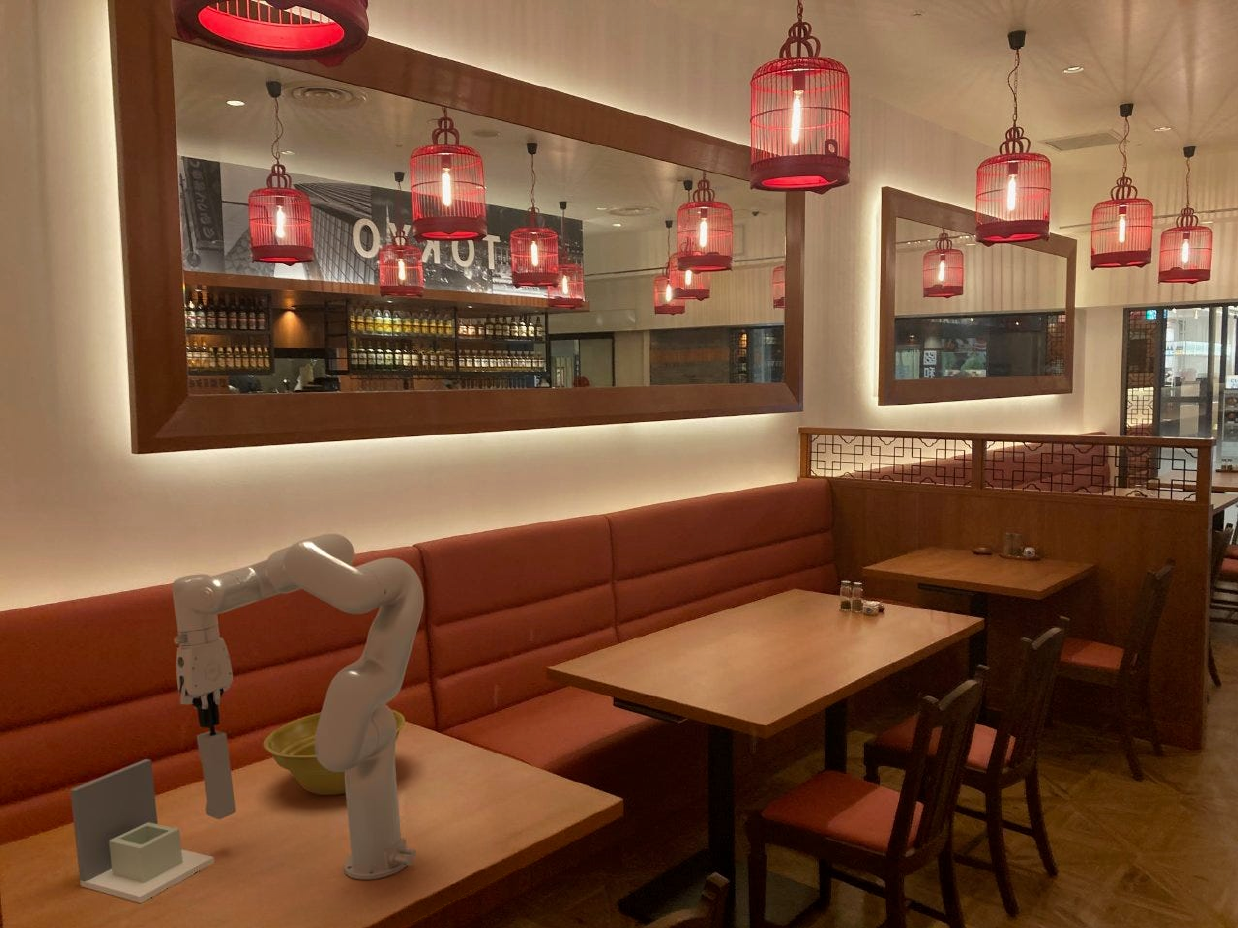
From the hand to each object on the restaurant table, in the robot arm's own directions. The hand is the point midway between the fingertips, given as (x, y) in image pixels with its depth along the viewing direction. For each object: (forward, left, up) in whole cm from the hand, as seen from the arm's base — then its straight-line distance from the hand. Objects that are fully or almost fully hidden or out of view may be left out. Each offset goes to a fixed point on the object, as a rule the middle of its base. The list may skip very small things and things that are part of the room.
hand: (209, 724), depth 189 cm
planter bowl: (+2, -35, -27) cm, 44 cm away
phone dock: (+7, +12, -27) cm, 30 cm away
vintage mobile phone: (0, 0, -19) cm, 19 cm away
